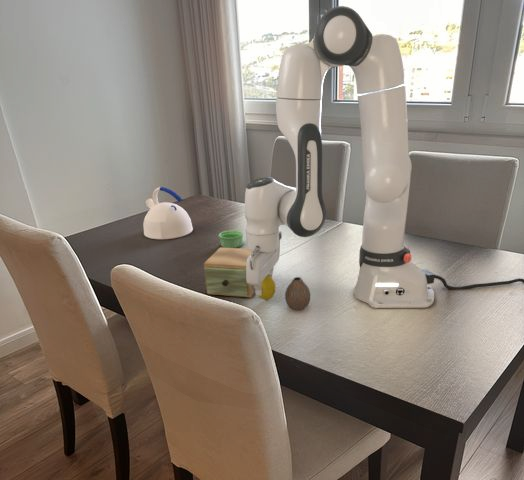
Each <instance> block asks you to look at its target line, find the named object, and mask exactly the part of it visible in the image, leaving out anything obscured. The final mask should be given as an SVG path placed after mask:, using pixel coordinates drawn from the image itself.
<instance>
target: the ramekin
mask: <svg viewBox="0 0 524 480" xmlns="http://www.w3.org/2000/svg"><path fill="white" fill-rule="evenodd" d="M243 235H244V233H243V232H242V231H240V230H237V229H235V230H232V229H230V230H224V231H221V232H220V233H219V234H218V237H219V241H220V247H221V248H241V246H242V245H243Z"/></svg>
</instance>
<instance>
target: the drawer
mask: <svg viewBox="0 0 524 480" xmlns="http://www.w3.org/2000/svg"><path fill="white" fill-rule="evenodd" d="M204 277H206V278H205V285H207V287H206V293H214V294H227V295H239V296H248V295H249V293H248V284H247V281H246V269H239V268H223V267H205V270H204ZM214 294H213V295H214ZM239 296H238V297H239Z"/></svg>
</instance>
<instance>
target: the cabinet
mask: <svg viewBox="0 0 524 480" xmlns="http://www.w3.org/2000/svg"><path fill="white" fill-rule="evenodd" d="M251 252H252V251H250V250H248V249H247V248H241V247H237V248H223V247H222V246H220V247H219V248H218V249H217V250H215V252H214V253H213V254H211V255H210V257H209V258H207V259H206V261H204V262H203V268H204V269H203V270H204V271H205V267H223V268H239V269H246V263H247V258H248V257H249V256H250V255H251ZM204 277H205V276H204ZM205 279H206V277H205ZM205 285H206V284H205ZM206 288H207V285H206ZM206 293H207V292H206ZM248 293H249V295H248V296H239V295H227V294H214V293H207V295H214V296H228V297H240V298H252V297H253V295H254V294H255V288H254V286H253V285H248Z"/></svg>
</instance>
